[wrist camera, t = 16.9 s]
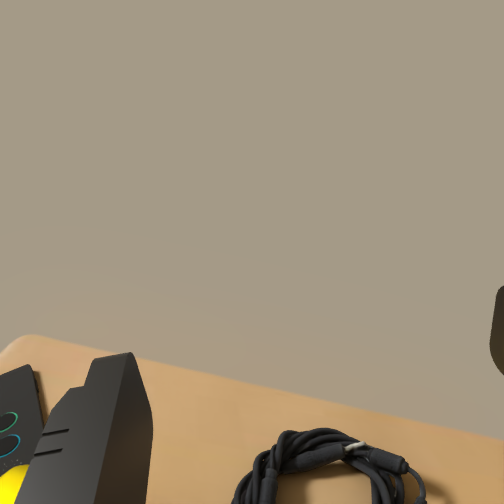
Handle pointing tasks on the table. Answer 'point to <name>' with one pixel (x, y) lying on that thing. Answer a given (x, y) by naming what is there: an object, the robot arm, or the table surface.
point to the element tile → (11, 483)
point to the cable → (321, 453)
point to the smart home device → (19, 418)
